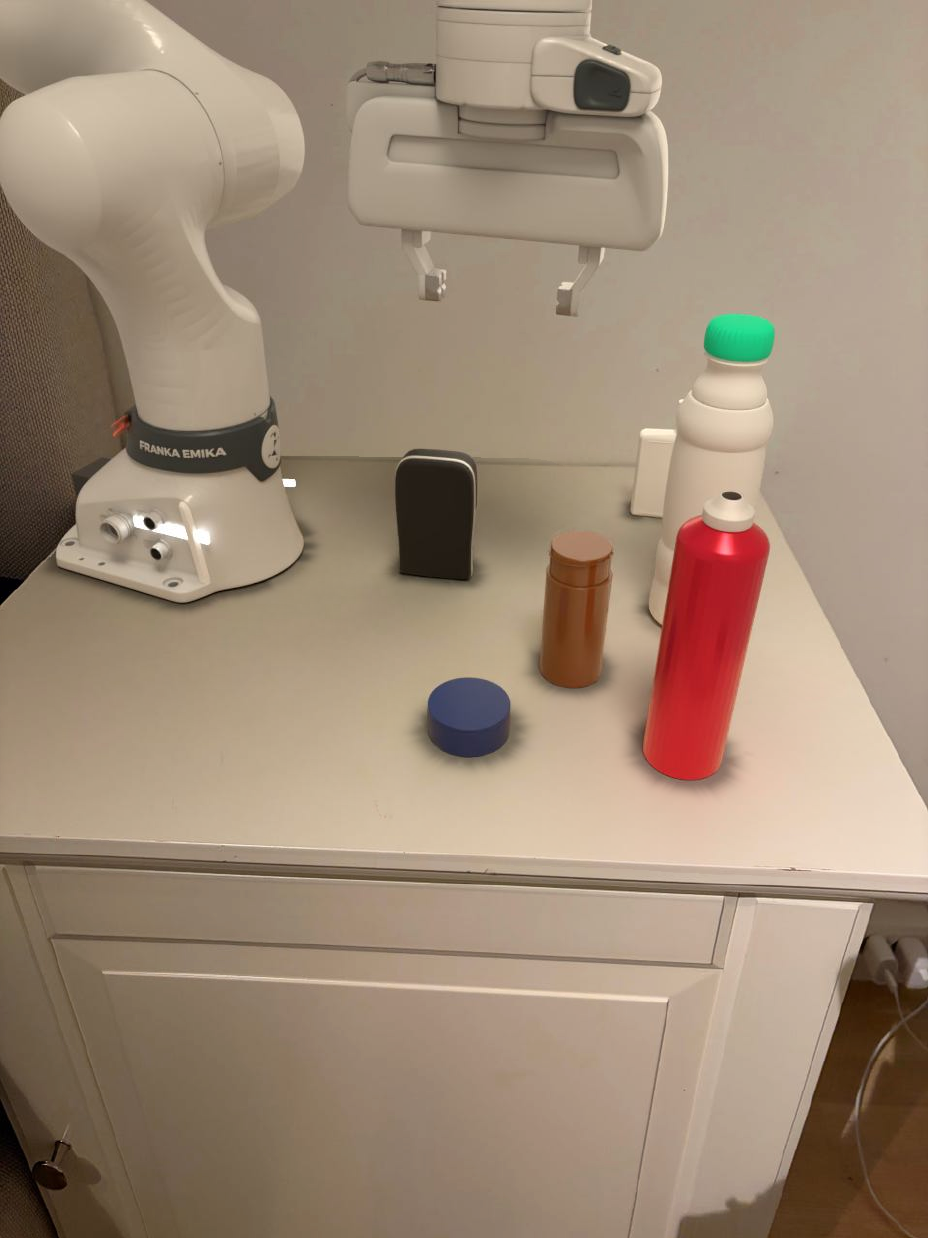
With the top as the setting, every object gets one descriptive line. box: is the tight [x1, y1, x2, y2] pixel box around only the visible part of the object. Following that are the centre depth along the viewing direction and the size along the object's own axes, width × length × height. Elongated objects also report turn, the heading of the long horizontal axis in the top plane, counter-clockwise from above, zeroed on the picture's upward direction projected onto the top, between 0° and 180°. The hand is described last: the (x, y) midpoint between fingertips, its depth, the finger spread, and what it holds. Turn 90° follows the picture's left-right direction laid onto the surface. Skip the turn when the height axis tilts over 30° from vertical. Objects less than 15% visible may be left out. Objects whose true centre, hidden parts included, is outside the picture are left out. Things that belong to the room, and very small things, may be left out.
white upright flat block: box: [629, 398, 685, 519], centre depth 91 cm, size 8×2×12 cm, turn 79°
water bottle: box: [648, 313, 776, 626], centre depth 72 cm, size 7×7×25 cm
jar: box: [539, 530, 615, 689], centre depth 70 cm, size 5×5×11 cm
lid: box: [427, 676, 511, 758], centre depth 66 cm, size 6×6×2 cm
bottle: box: [642, 491, 771, 781], centre depth 59 cm, size 5×5×20 cm
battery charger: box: [394, 448, 478, 580], centre depth 82 cm, size 7×4×11 cm, turn 80°
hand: (499, 306), depth 62 cm, fingers open, 8 cm apart
